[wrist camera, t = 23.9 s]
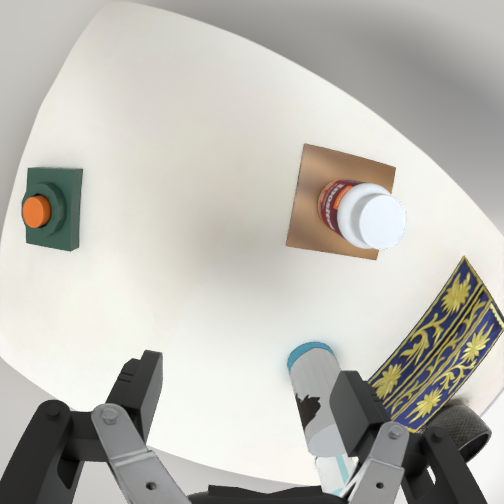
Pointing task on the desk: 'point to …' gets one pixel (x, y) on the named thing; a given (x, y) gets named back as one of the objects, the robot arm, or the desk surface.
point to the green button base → (56, 206)
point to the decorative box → (440, 350)
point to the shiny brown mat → (310, 187)
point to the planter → (463, 429)
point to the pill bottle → (362, 213)
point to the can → (334, 472)
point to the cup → (316, 397)
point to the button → (36, 211)
